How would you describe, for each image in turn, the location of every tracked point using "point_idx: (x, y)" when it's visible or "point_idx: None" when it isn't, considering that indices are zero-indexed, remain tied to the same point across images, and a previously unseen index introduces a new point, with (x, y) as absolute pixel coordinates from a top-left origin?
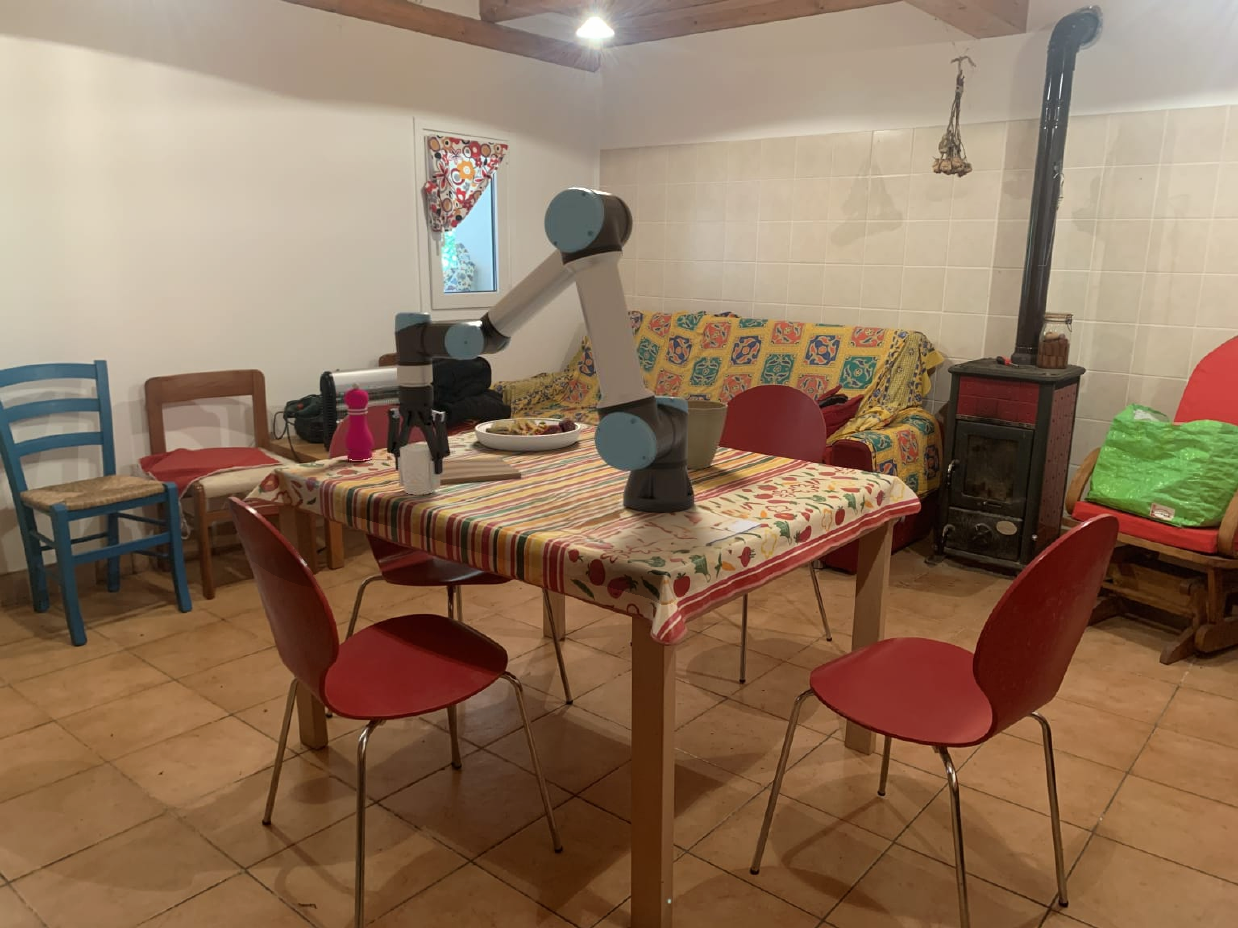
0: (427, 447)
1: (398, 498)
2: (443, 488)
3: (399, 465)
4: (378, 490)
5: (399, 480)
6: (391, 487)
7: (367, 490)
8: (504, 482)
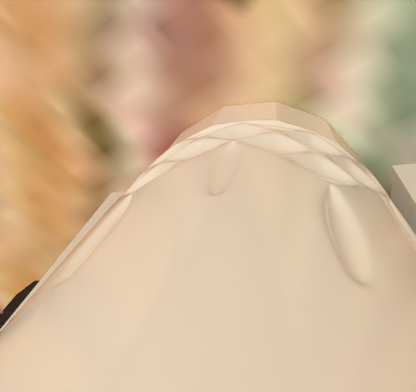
0: (145, 368)
1: None
2: (354, 30)
3: None
4: None
5: None
6: (36, 197)
7: (12, 291)
8: None
